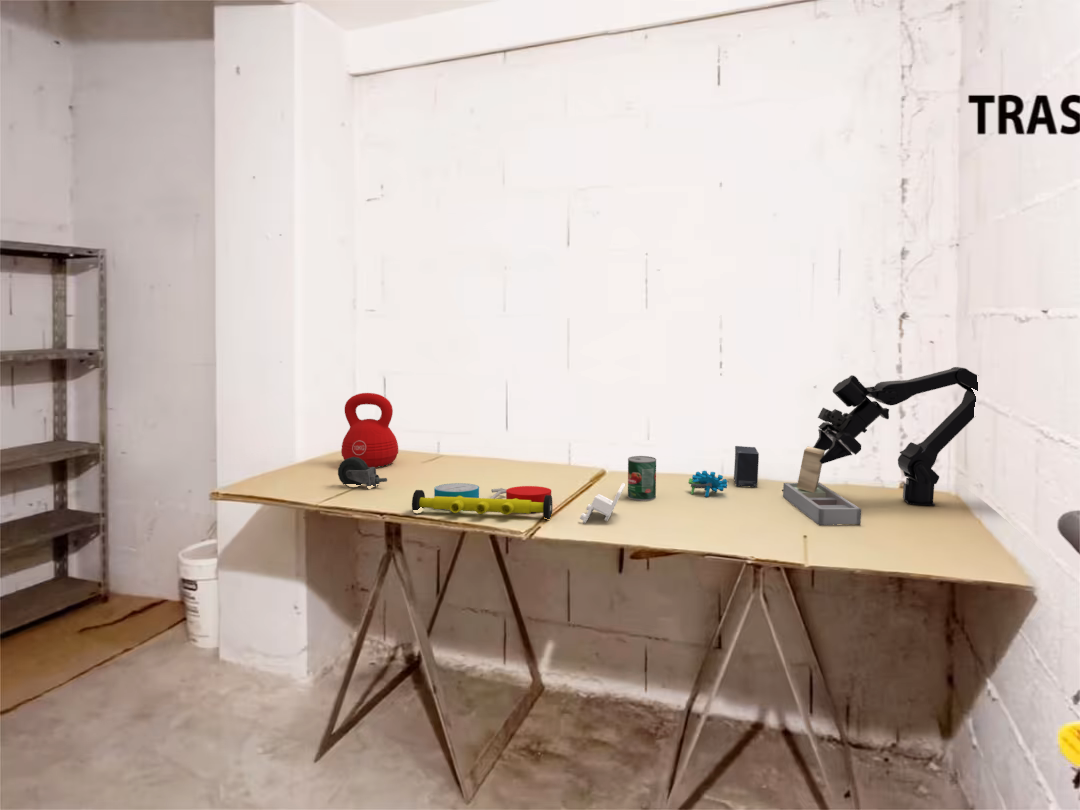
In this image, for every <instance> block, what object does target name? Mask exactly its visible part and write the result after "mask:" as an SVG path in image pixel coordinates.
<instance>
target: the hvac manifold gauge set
mask: <svg viewBox="0 0 1080 810" xmlns="http://www.w3.org/2000/svg"><path fill="white" fill-rule="evenodd" d="M433 489H434V491H433V492H434V495H433V496H434V497H426V495H425V494H426V493H425V491H424V490H422V489H416V490H415V491H414V492H413V495H412V500H411V509H412V511H413V510H418V509H419V508H420V507H422V508H424V509H425V508H426V509H433V510H434V509H446V510H445V511H450V512H452V513H454V514H456V513H460V512H476V514H478V515H483V514H485V513H500V514H502V515H506V516H507V515H510V514H524V513H526V514H527V515H530V513H531V512H536V513H539V514H540V513H541V514H543V518H544V517H545V518H547V519H550V517H551V514H552V515H553V497H552V489H551V488H549V487H544V486H537V485H521V486H513V487H509V488H503V487H500V488H499V487H498V488H493V489H492V488H491V493H495V494H493V495H492V496H491V497H490V498H488V497H487V498H486V497H485V498H484V497H480V487H479V485H476V484H472V483H463V482H462V483H461V482H456V483H444V484H439V485H436V486H435V487H434V488H433ZM503 494H505V498H498V497H499V496H500V495H503ZM461 510H463V511H461ZM536 513H535V514H536ZM531 514H532V513H531ZM551 518H552V517H551ZM550 520H551V519H550Z"/></svg>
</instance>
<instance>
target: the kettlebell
mask: <svg viewBox="0 0 1080 810" xmlns="http://www.w3.org/2000/svg"><path fill="white" fill-rule="evenodd" d="M362 405H371V406H373V405H374V406H376V407H378V409H380V412H381V413H380V414H381V415H380V417H379V419H374V418H364V419H360V418H359V417H358V414H357V408H358V407H359V406H362ZM393 411H394V409H393V405H392V403H391V401H390V400H389V399H388V398H386V397H385V396H383V395H381V394H379V393H374V392H373V393H372V392H362V393H357V394H354V395H352V396H350V398H349V399H348V400H347V401H346V402H345V404H344V414H345V418H346V421H347V423H348V425H349V429H348V430H347V432H346V434H345V436H344V437H343V440H342V443H341V456H342V458H343V461H344V460H345V459H347V458H351V457H358V458H360V459H362V460H364V461H365V463H366V464H367V466H368V467H378V466H383V467H385V466H384V465H387V466H389V465H391V464H392V463H394V462H395V460H396V459H397V457H398V454H399V444H398V443H399V442H398V439H397V437H396V436H395V433H394V432H393V431H392V430H391V428H390V427H389V425H390V423H391V420H392V418H393V413H394V412H393ZM388 464H389V465H388ZM378 468H379V467H378Z"/></svg>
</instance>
